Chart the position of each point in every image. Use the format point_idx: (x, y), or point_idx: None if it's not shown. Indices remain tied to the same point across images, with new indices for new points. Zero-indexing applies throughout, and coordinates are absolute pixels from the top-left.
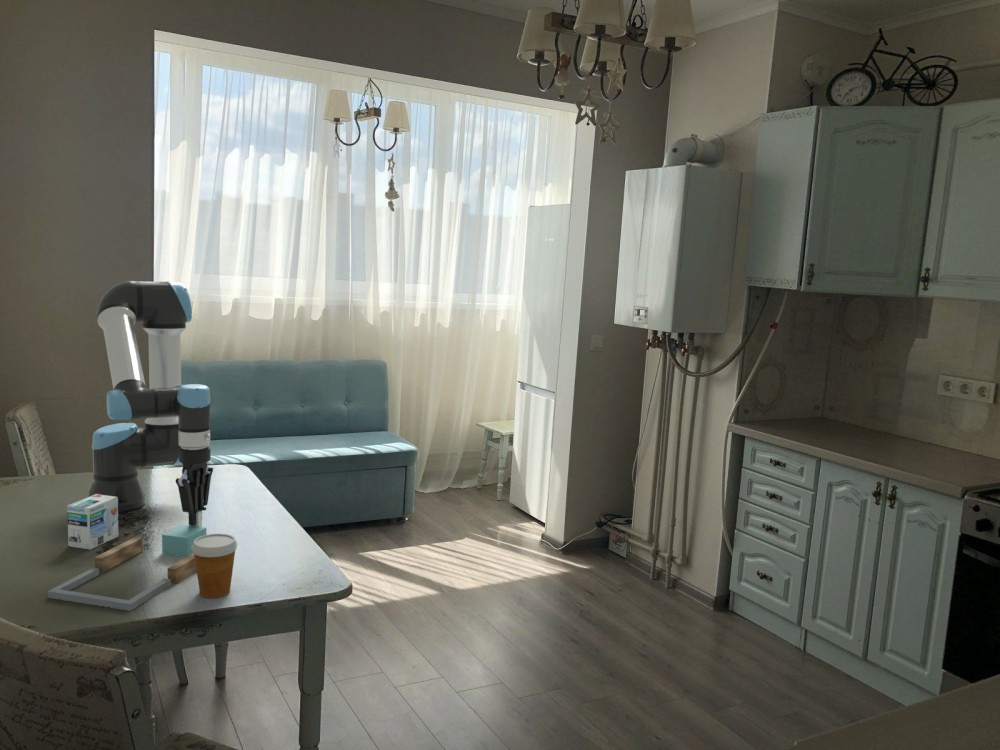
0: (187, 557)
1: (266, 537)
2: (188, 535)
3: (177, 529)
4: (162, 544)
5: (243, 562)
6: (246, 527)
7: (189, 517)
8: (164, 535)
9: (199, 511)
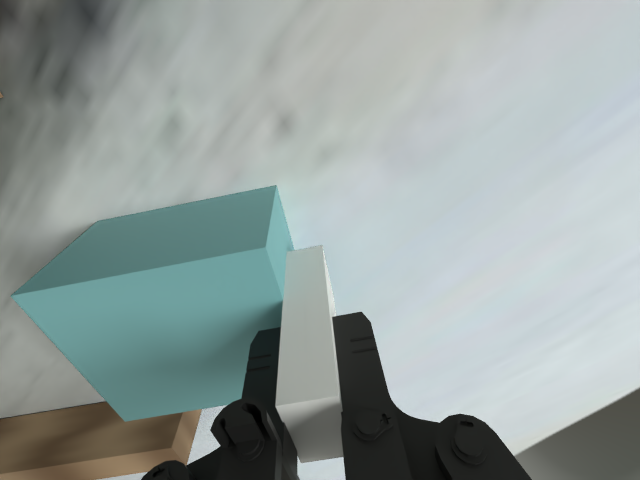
0: (49, 470)
1: (489, 397)
2: (153, 404)
3: (166, 300)
4: (63, 253)
5: None
6: (596, 288)
7: (245, 396)
8: (28, 308)
9: (336, 451)
